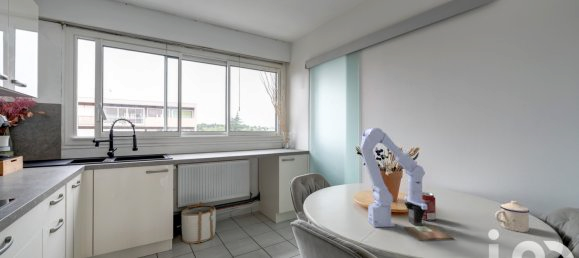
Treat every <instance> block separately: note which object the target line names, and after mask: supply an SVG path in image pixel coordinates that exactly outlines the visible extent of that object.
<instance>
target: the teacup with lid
mask: <svg viewBox="0 0 579 258" xmlns="http://www.w3.org/2000/svg"><path fill="white" fill-rule="evenodd" d="M529 213H530V209H529V208H527V207H526V206H523V205H521V204H520V203H518V201H516V200H511V201H510V202H508V203H502V204H500V210H497V211H496V212H495V214H494V216H495V219H496V220H497V221H498V222H500V223H501V224H500V226H502V227H503V228H504V229H506V230H510V231H513V232H517V231H518V232H517V233H519V232H520V233H527V232H529V230H530V227H529V226H530V225H529V224H530V222H529ZM500 214H501V215H500ZM499 215H500V217H499Z"/></svg>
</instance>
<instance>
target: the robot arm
mask: <svg viewBox="0 0 579 258" xmlns="http://www.w3.org/2000/svg"><path fill="white" fill-rule="evenodd" d="M360 141H361V142H360V147H359V151H360V152H361V155H362V158H363V161H364V164H365V167H366V169H367V170H366V171H367V172H368V175H369V178H370V182H371V191H372V193H371V195H372V197H373V199H374V201H373V203H372V204H371V203H370V204H368V207H367V211H368V212H367V215H368V216H367V217H368V218H367V221H368V222H369V223H370V224H371V226H373V227H374V228H380V227H382V228H384V227H388V228H389V227H396V225H395V224H394V223H393V222H392V203H393V201H394V195H392V193H391V192H390V191H389V188H388V187H387V185H386V183H385V182H384V180H383V177H382V172H381V170H380V167H379V164H378V162H377V159H376V156H375V155H376V154H375V153H374V149H375V147H376V146H377V145H378V144H381V145H383V146H384V147H385V148H387V150H389V152H391V153H392V154H393V155H394V156H395V161H396V162H397V163H398V164H399V166H400V167H402V168H403V169H404V171H405V173H406V175H407V178H408V179H407V190H408V191H407V195H404V201H407V202H404V205H405V207H406V209H407V211H408V213H409V209H413V210H414V214H415V221H416V222H417V223H420V222H421V221H422V222H423V219H422V217H423V214H424V212H425V211H426V210H427V205H426V204H425V203H424V202H425V201H424V200H422V192H423V178H424V176H425V174H426V171H425V170H424V168H423V167H422V166H421V165H419V164H418V161H416V160H414V159H413V158H412V157H411V154H410V153H409V152H406V151H402V150H401V149H400V148H399V147H398V146H397V144H395V142H394V141H393V140H392V139H391V138H390V137H389V136H388V134H387V133H386V132H384V130H382V129H381V128H379V127H368V128H366V129H365V130H364V131H363V132H362V135H361V140H360Z"/></svg>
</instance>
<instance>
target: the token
mask: <svg viewBox="0 0 579 258" xmlns="http://www.w3.org/2000/svg"><path fill="white" fill-rule="evenodd" d="M408 223H410V224H411V225H413V226H423V220H422V221H421V222H420V223H417V222H416V221H415V214H414V210H413V209H409V212H408Z"/></svg>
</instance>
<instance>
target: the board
mask: <svg viewBox="0 0 579 258" xmlns="http://www.w3.org/2000/svg"><path fill="white" fill-rule="evenodd" d="M403 229H404V231H406V232H407V233H409V234H410V235H411V237H414V238H415V239H416V240H418V241H419V242H423V241H451V240H455V237H453V235H450V234H449V233H447V232H445V231H444V230H442V229H441V228H439V227H437V226H436V225H431V226H430V225H429V226H428V225H427V226H425V225H424V226H423V225H419V226H404V227H403Z"/></svg>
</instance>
